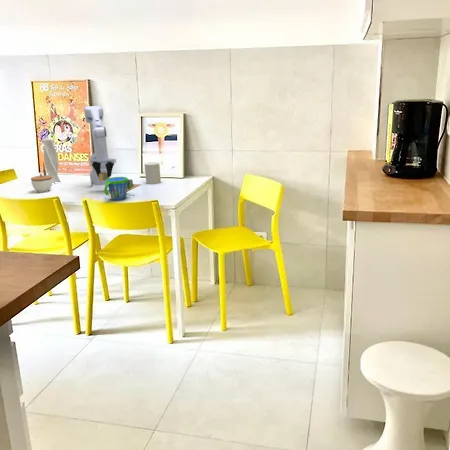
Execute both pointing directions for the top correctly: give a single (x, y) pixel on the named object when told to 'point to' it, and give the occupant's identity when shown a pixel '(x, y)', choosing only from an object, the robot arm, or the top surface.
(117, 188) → the snack cup
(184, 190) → the top surface
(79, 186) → the top surface
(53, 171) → the skyscraper
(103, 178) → the brass gear
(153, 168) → the cup
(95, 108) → the robot arm
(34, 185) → the lidded jar
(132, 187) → the gear board
